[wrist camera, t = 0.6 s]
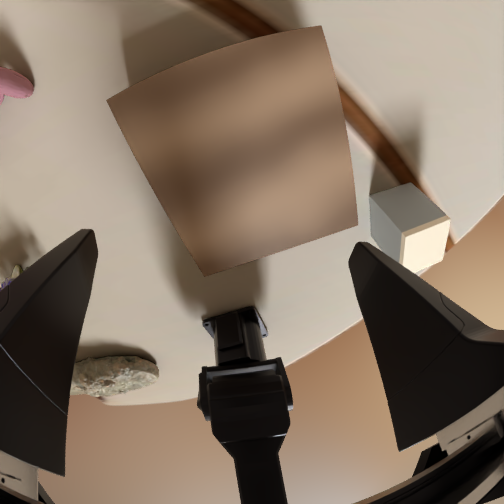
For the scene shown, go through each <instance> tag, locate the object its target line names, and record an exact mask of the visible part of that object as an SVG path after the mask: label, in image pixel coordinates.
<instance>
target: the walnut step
mask: <svg viewBox="0 0 504 504" xmlns="http://www.w3.org/2000/svg"><path fill="white" fill-rule="evenodd" d="M106 101H107V103H108V105H109V107H110V109H111V111H112V113H113V115H114V117H115V119H116V121H117V123H118V125H119V127H120V129H121V131H122V133H123V135H124V137H125V139H126V141H127V143H128V145H129V146H130V148H131V150H132V152H133V154H134V156H135V158H136V160H137V162H138V163H139V165H140V167H141V169H142V171H143V173H144V175H145V176H146V178H147V180H148V182H149V184H150V185H151V187H152V189H153V191H154V193H155V194H156V196H157V198H158V200H159V201H160V203H161V205H162V207H163V208H164V210H165V212H166V214H167V215H168V217H169V219H170V221H171V222H172V224H173V226H174V227H175V229H176V231H177V232H178V234H179V236H180V238H181V239H182V241H183V243H184V244H185V246H186V247H187V249H188V251H189V252H190V254H191V256H192V257H193V259H194V261H195V262H196V264H197V265H198V267H199V269H200V270H201V272H202V273H203V275H204V277H205V276H208V275H211V274H214V273H217V272H220V271H223V270H226V269H230V268H233V267H236V266H239V265H242V264H245V263H248V262H251V261H254V260H257V259H260V258H263V257H266V256H269V255H272V254H275V253H277V252H280V251H283V250H286V249H289V248H292V247H295V246H298V245H301V244H304V243H307V242H310V241H313V240H316V239H319V238H322V237H325V236H328V235H331V234H334V233H337V232H339V231H342V230H345V229H348V228H351V227H354V226H357V225H358V215H357V204H356V194H355V185H354V177H353V169H352V162H351V155H350V148H349V142H348V136H347V130H346V125H345V119H344V114H343V109H342V104H341V99H340V95H339V90H338V86H337V81H336V77H335V73H334V69H333V65H332V61H331V57H330V54H329V50H328V46H327V43H326V39H325V36H324V33H323V30H322V26H314V27H307V28H301V29H295V30H290V31H285V32H280V33H275V34H271V35H266V36H262V37H258V38H254V39H250V40H247V41H243V42H240V43H236V44H233V45H230V46H226V47H223V48H220V49H217V50H214V51H211V52H208V53H206V54H203V55H200V56H197V57H195V58H192V59H190V60H187V61H185V62H182V63H180V64H177V65H175V66H173V67H170V68H168V69H166V70H163V71H161V72H159V73H157V74H155V75H153V76H151V77H149V78H146V79H144V80H142V81H140V82H138V83H137V84H135V85H133V86H131V87H129V88H127V89H125V90H123V91H122V92H120V93H118V94H116V95H114V96H113V97H111V98H109V99H108V100H106Z"/></svg>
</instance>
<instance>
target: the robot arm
mask: <svg viewBox="0 0 504 504" xmlns="http://www.w3.org/2000/svg"><path fill="white" fill-rule="evenodd" d="M97 258H98V248H97V243H96V238H95V233H94V231H93V230H92V229H81V230H79V231H78V232H76V233H75V234H74V235H72V236H71V237H69V238H68V239H66V240H65V241H63V242H62V243H61V244H59V245H58V246H56V247H55V248H54V249H52V250H51V251H50V252H48V253H47V254H46V255H44V256H43V257H42V258H40V259H39V260H38V261H36V262H35V263H34V264H32V265H31V266H30V267H29V268H27V269H26V270H25V271H24V272H22V273H21V274H20V275H19V276H17V277H16V278H15V279H14V280H13V281H11V282H10V283H9V285H6V286H5V287H4V288H3V289H2V290H1V291H0V504H55V503H54V502H53V501H52V500H51V498H50V497H49V496H48V495H47V493H46V491H45V490H44V489H43V487H42V486H41V484H40V483H39V482H38V468H39V469H41V470H44V471H47V472H50V473H53V474H56V475H60V476H63V477H65V446H66V429H67V415H68V406H69V398H70V390H71V383H72V377H73V371H74V365H75V360H76V354H77V349H78V344H79V340H80V335H81V331H82V327H83V323H84V318H85V315H86V311H87V307H88V303H89V299H90V295H91V290H92V284H93V278H94V273H95V268H96V263H97ZM349 269H350V273H351V277H352V280H353V284H354V289H355V293H356V297H357V300H358V303H359V307H360V310H361V312H362V315H363V318H364V322H365V325H366V327H367V331H368V333H369V337H370V340H371V343H372V347H373V350H374V353H375V357H376V360H377V364H378V367H379V371H380V374H381V378H382V381H383V385H384V389H385V393H386V397H387V400H388V406H389V410H390V414H391V418H392V423H393V427H394V432H395V437H396V442H397V447H398V450H399V452H401V451H403V450H405V449H407V448H409V447H411V446H414V445H416V444H418V443H420V442H421V441H424V440H426V439H427V438H429V437H431V436H433V435H435V434H436V436H437V439H438V443H437V444H435V445H433V446H431V447H430V448H428V449H426V450H424V451H422V452H421V455H420V458H419V461H418V463H417V466H416V468H415V471H414V474H413V476H412V478H410V479H408V480H406V481H404V482H402V483H400V484H398V485H396V486H394V487H392V488H390V489H388V490H385V491H383V492H381V493H378V494H376V495H374V496H371V497H369V498H366V499H364V500H361V501H359V502H356V503H353V504H484V503H486V502H489V501H492V500H495V499H497V498H500V497H503V496H504V330H496V329H493V328H490V327H489V326H487V325H485V324H484V323H483V322H481V321H480V320H478V319H477V318H475V317H474V316H473V315H471V314H470V313H468V312H467V311H466V310H464V309H463V308H461V307H460V306H459V305H457V304H456V303H454V302H453V301H452V300H450V299H449V298H447V297H446V296H445V295H443V294H442V293H441V292H439V291H438V290H437V289H435V288H434V287H432V286H431V285H429V284H428V283H427V282H425V281H424V280H423V279H421V278H420V277H419V276H417V275H416V274H414V273H413V272H411V271H410V270H409V269H407V268H406V267H404V266H403V265H401V264H400V263H398V262H397V261H395V260H394V259H392V258H391V257H389V256H388V255H386V254H385V253H383V252H382V251H380V250H379V249H377V248H376V247H374V246H373V245H371V244H370V243H368V242H357V243H356V245H355V247H354V249H353V251H352V254H351V256H350V258H349ZM202 323H203V327H204V328H205V329H206V330H207V331H208V333H209V334H210V335H211V336H212V337H213V339H214V346H215V359H216V366H212V367H207V366H203V367H202V373H200V374H199V393H198V400H197V406H198V408H199V409H200V410H202V412H203V414H204V417H205V419H206V421H211V427H212V432H213V435H214V436H215V437H216V439H217V440H218V441H219V442H220V443H221V445H222V446H223V447H224V448H225V449H226V450H227V452H228V453H229V454H230V455H231V456H232V457H233V459H234V463H235V469H236V476H237V481H238V488H239V493H240V499H241V504H288V503H287V498H286V492H285V487H284V482H283V477H282V471H281V466H280V461H279V455H278V452H279V450H280V448H281V445H282V443H283V441H284V438H285V436H286V434H287V431H288V429H289V426H290V417H289V411H291V410H292V409H293V400H292V393H291V388H290V384H289V381H288V378H287V375H286V371H285V368H284V365H283V362H282V359H281V357H278V358H276V359H270V360H267V359H266V354H265V349H264V344H263V339H262V338H264V337H267V336H268V331H267V330H266V328H265V326H264V324H263V322H262V320H261V318H260V316H259V314H258V312H257V310H256V309H255V307H253V306H251V307H247V308H244V309H240V310H237V311H234V312H230V313H227V314H224V315H220V316H217V317H213V318H210V319H206V320H204V321H203V322H202Z"/></svg>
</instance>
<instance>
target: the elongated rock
mask: <svg viewBox="0 0 504 504" xmlns="http://www.w3.org/2000/svg"><path fill="white" fill-rule="evenodd" d="M158 377H159V369H158V367H157V366H156V365H155V364H154V363H152V362H150V361H147V360H145V359H141V358H139V357H137V356H134V357H133V356H130V357H129V356H126V357H123V356H120V357H117V356H114V357H110V356H107V357H103V358H99V359H94V358H90V357H88V359H87V360H82V361H81V362H78V363H75V365H74V371H73V377H72V383H71V390H70V395H77V394H89V395H91V396H95V397H97V396H98V397H99V396H106V397H108V396H111V395H116V394H121V393H124V394H125V393H127V392H128V391H130V390H136V389H140V388H142V387H145V386H148V385H150V384H152V383H155V382H156V381H157V380H158Z"/></svg>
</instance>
